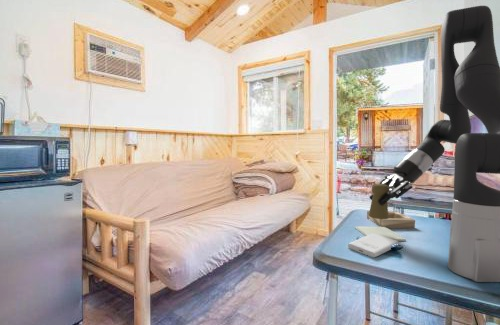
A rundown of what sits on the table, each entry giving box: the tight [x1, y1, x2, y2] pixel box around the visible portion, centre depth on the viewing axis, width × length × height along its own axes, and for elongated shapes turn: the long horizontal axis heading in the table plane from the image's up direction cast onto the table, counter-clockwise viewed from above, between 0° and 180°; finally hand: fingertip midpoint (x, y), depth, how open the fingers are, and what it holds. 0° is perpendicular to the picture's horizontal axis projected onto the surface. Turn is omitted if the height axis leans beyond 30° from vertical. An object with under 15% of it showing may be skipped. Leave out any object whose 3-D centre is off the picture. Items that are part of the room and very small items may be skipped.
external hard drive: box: [347, 233, 400, 258], centre depth 76 cm, size 2×8×12 cm
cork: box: [369, 183, 389, 219], centre depth 88 cm, size 6×6×11 cm
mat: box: [354, 225, 407, 242], centre depth 89 cm, size 12×11×1 cm
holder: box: [366, 210, 416, 229], centre depth 102 cm, size 12×12×3 cm
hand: (375, 201), depth 88 cm, fingers closed on cork, 5 cm apart
